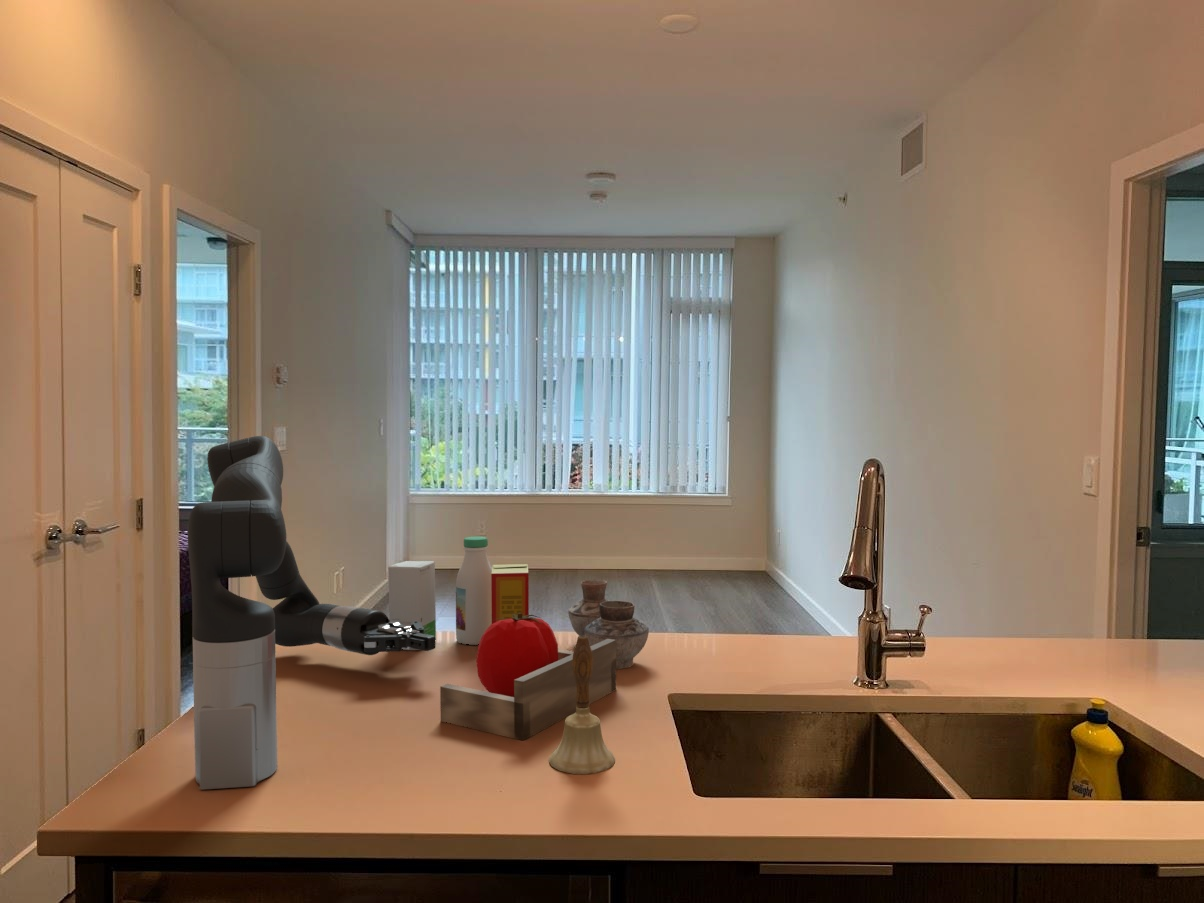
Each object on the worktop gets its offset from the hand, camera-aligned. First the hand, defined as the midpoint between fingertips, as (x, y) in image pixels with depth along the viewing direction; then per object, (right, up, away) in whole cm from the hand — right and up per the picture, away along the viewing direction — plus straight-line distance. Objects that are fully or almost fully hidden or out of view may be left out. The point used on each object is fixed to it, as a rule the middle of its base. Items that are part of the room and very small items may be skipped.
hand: (432, 643), depth 141 cm
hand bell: (+25, -8, -31) cm, 41 cm away
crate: (+16, -7, -10) cm, 20 cm away
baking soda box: (+11, -6, +18) cm, 22 cm away
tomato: (+15, -7, -7) cm, 18 cm away
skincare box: (-8, -6, +24) cm, 26 cm away
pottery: (+28, -6, +18) cm, 34 cm away
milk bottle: (+3, -6, +27) cm, 28 cm away
